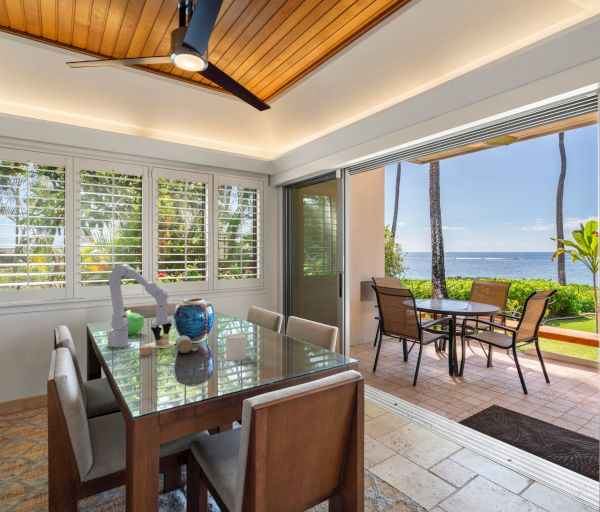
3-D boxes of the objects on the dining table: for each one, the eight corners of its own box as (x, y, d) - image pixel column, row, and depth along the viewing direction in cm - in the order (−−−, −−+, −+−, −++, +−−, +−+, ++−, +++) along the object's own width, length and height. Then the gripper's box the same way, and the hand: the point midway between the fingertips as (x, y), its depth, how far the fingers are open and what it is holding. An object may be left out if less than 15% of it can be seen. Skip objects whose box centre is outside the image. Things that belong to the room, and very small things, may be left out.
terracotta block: (139, 356, 178) (139, 347, 178) (142, 353, 182) (142, 345, 182) (148, 355, 178) (148, 347, 178) (150, 353, 182) (150, 345, 182)
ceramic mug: (177, 354, 181) (178, 339, 181) (175, 350, 188) (175, 335, 188) (199, 352, 185) (199, 337, 185) (196, 348, 193) (196, 334, 193)
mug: (224, 353, 184) (224, 332, 183) (245, 352, 186) (245, 331, 186) (226, 361, 170) (226, 338, 170) (247, 360, 173) (248, 337, 173)
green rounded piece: (142, 330, 234) (142, 308, 234) (146, 336, 220) (146, 311, 220) (110, 333, 225) (110, 310, 225) (112, 339, 211) (112, 314, 211)
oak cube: (155, 344, 198) (155, 335, 198) (160, 342, 203) (161, 333, 202) (163, 345, 196) (163, 335, 196) (168, 342, 201) (168, 333, 201)
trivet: (142, 347, 194) (142, 345, 194) (158, 340, 208) (158, 339, 208) (165, 348, 191) (165, 347, 191) (180, 342, 205) (180, 341, 205)
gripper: (160, 316, 191) (159, 341, 192) (175, 311, 205) (175, 335, 206) (148, 315, 193) (148, 340, 193) (165, 311, 207) (164, 335, 207)
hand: (161, 338), depth 200 cm, fingers open, 7 cm apart
